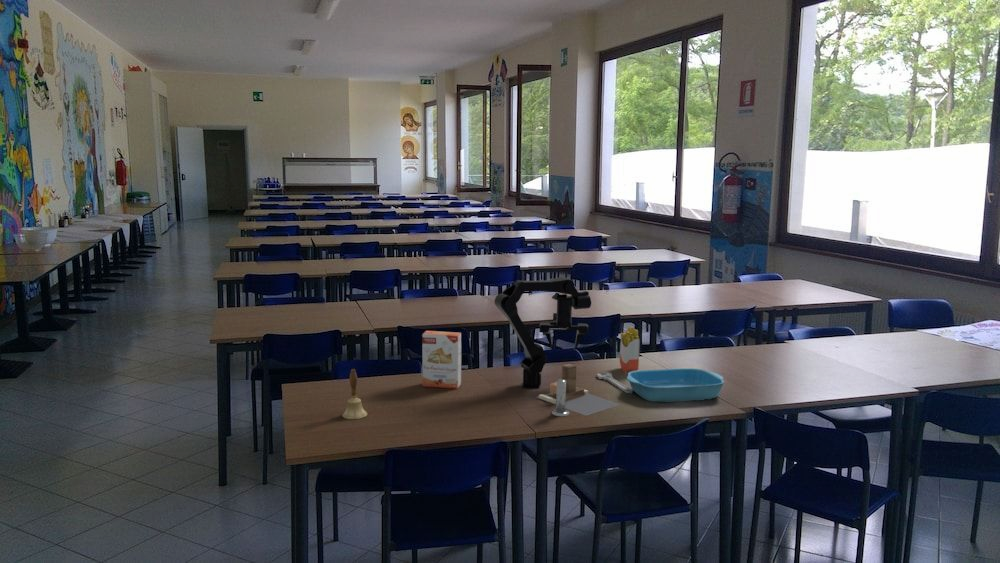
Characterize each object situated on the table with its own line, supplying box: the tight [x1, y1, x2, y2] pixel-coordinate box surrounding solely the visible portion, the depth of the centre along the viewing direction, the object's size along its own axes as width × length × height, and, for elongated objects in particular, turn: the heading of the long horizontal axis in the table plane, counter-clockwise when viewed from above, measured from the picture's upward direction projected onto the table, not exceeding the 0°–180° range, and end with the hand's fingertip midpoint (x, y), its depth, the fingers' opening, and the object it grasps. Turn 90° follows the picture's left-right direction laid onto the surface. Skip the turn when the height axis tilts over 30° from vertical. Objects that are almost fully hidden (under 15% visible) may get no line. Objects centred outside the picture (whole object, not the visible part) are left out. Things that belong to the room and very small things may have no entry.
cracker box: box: [421, 330, 462, 390], centre depth 276 cm, size 14×6×21 cm, turn 80°
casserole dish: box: [626, 367, 724, 403], centre depth 270 cm, size 37×22×7 cm, turn 103°
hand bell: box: [342, 368, 368, 420], centre depth 244 cm, size 8×8×16 cm
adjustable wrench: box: [596, 371, 634, 395], centre depth 281 cm, size 25×6×2 cm, turn 13°
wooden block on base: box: [553, 363, 585, 401], centre depth 263 cm, size 4×12×12 cm, turn 130°
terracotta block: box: [549, 381, 557, 395], centre depth 267 cm, size 5×5×4 cm
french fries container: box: [619, 326, 641, 374], centre depth 298 cm, size 5×11×18 cm, turn 10°
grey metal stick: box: [551, 378, 570, 417], centre depth 246 cm, size 6×6×12 cm
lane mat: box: [535, 389, 622, 417], centre depth 260 cm, size 25×18×2 cm
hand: (563, 349), depth 282 cm, fingers open, 9 cm apart
